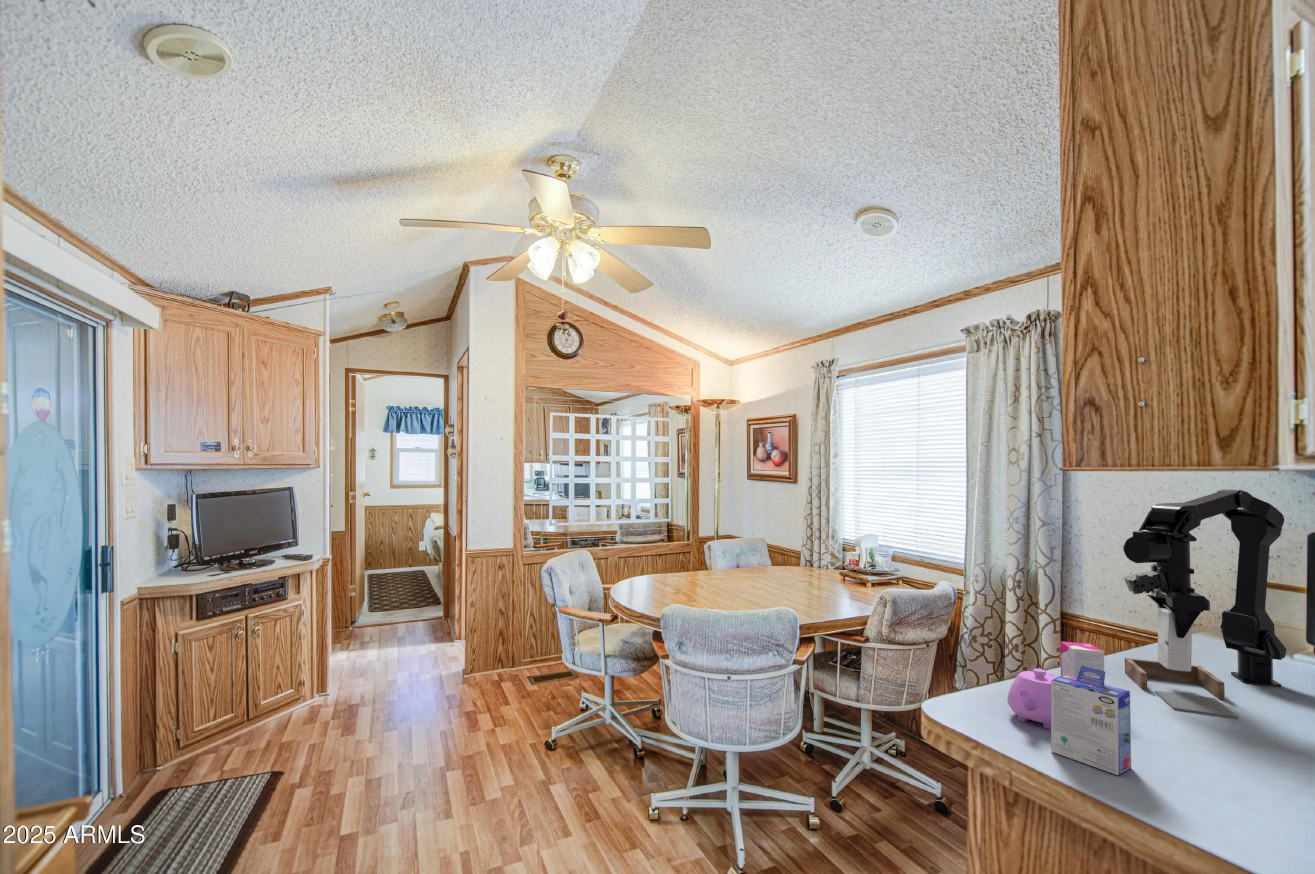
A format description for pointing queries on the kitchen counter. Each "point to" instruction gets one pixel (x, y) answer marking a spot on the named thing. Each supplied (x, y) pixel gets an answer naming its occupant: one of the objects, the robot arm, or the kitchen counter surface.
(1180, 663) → the skincare box
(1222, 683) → the walnut u-shaped bracket
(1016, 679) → the pink rounded plastic body
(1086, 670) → the ink cartridge box
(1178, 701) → the charcoal mat
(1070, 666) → the supplement box
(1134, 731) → the kitchen counter surface
